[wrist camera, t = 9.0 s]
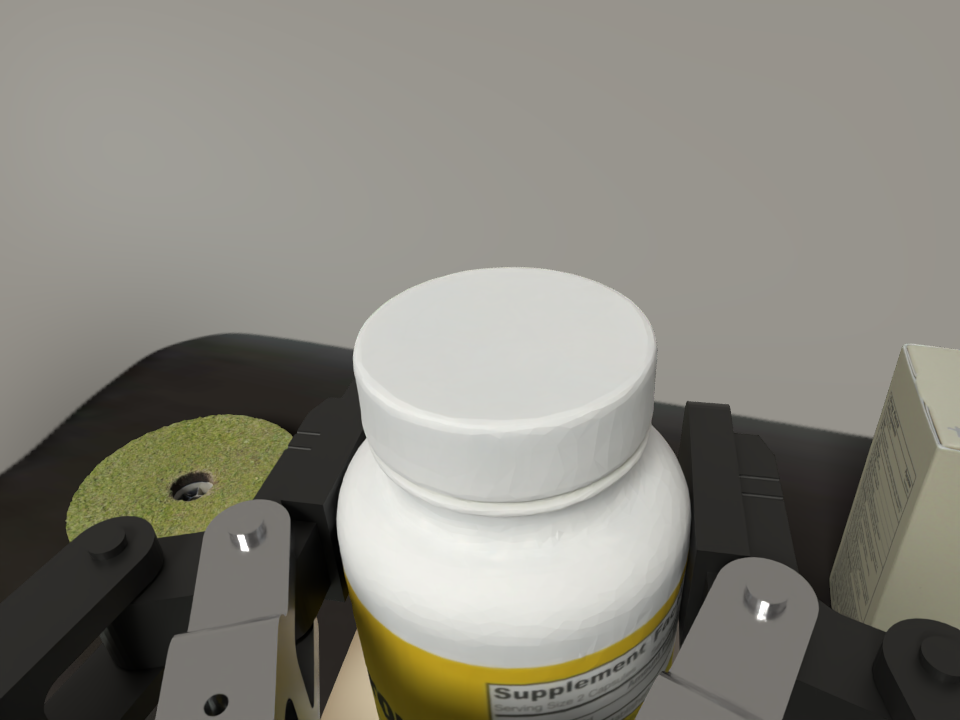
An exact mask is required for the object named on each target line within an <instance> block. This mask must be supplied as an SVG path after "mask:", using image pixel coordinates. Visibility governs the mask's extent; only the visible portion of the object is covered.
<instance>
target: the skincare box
mask: <svg viewBox="0 0 960 720" xmlns="http://www.w3.org/2000/svg"><path fill="white" fill-rule="evenodd" d="M830 595H831V605H832V609H833V610H835V611H836V612H838V613H840V614H842V615H844V616H847V617H849V618H851V619H854V620H856V621H859V622H862V623H864V624H867V625H869V626H872V627H875V628H877V629H880V630H882V631H885V632H887V631H888V629H889V628H890V627H891V626H892V625H894V624H895V623H897V622H899V621H902V620H906V619H913V618H923V619H930V620H936V621H939V622H943V623H946V624H948V625H951V626H953V627H956V628H958V629H959V630H960V350H959V349H952V348H942V347H934V346H926V345H918V344H911V343H907V344H905V345H903V346H902V349H901V352H900V355H899V358H898V361H897V365H896V368H895V371H894V375H893V377H892V381H891V384H890V387H889V390H888V394H887V397H886V400H885V403H884V406H883V410H882V413H881V416H880V419H879V422H878V425H877V428H876V432H875V435H874V438H873V441H872V444H871V447H870V451H869V454H868V457H867V460H866V463H865V466H864V470H863V473H862V476H861V479H860V483H859V486H858V489H857V492H856V495H855V499H854V502H853V505H852V508H851V511H850V514H849V518H848V521H847V524H846V527H845V530H844V534H843V537H842V540H841V543H840V546H839V549H838V553H837V556H836V559H835V562H834V565H833V568H832V571H831V575H830Z"/></svg>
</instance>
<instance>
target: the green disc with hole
mask: <svg viewBox="0 0 960 720" xmlns="http://www.w3.org/2000/svg"><path fill="white" fill-rule="evenodd" d="M291 439H292V435H291V434H290V433H288V432H287V431H286V430H285V429H283V428H280V426H278V425H276V424H273V423H270V422H268V421H266V420H263V419H257V418H255V419H254V418H253V417H248V416H243V415H232V414H227V415H218V416H214V415H211V416H209V417H204V418H201V417H199V418H197V419H193V420H185V421H182V422H179V423H174V424H172V425H170V426H168V427H166V426H164V427H163V428H161V429H158V430H156V431H153V432H151V433H147V434H145V435H144V436H141V437H140V438H138V439H136V440H132V441H131V442H130V443H128V444H127V445H125V446H124V447H122V448H121V449H118V450H117V451H116V452H115V453H113V454H112V455H110V456H109V457H107V458H105V460H104V461H102V462H101V463H100V464H98V465H97V466H96V467H95V469H94V470H93V471H92V472H91V474H90V476H87V477H86V478H85V480H84V483H82V484H81V485H80V487H79V489H78V490H77V492H75V494H74V496H73V498H72V499H73V501H72V502H71V503H70V506H69V510H68V512H67V520H65V521H66V522H67V524H66V532H67V535H68V538H69V541H70V542H71V541H72V540H74V539H75V538H76V537H77V536H78V535H79V534H81V533H82V532H83V531H85V530H86V529H88V528H89V527H91V526H93V525H95V524H97V523H99V522H102V521H104V520H107V519H111V518H114V517H120V516H136V517H140V518H143V519H145V520H147V521H148V522H149V523H150V524H151V525H152V526H153V528H154V531H155V533H156V536H157V538H161V537H168V536H176V535H183V534H190V533H197V532H202V531H205V530H206V528H207V526H208V525H209V524H210V522H211V521H212V520H213V519H214V518H215V517H216V516H217V515H218V514H220V513H221V512H222V511H224V510H225V509H227V508H229V507H231V506H233V505H235V504H238V503H241V502H244V501H249V500H253V498H254V497H255V495H256V494H257V492H258V491H259V489H260V488H261V486H262V484H263V483H264V481H265V480H266V478H267V477H268V475H269V474H270V472H271V470H272V469H273V467H274V466H275V464H276V463H277V461H278V460H279V458H280V457H281V455H282V453H283V452H284V450H285V449H288V444H289V443H290V441H291Z"/></svg>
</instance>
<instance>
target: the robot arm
mask: <svg viewBox="0 0 960 720" xmlns="http://www.w3.org/2000/svg"><path fill="white" fill-rule="evenodd" d="M366 438H367V437H366V435H365V433H364V429H363V425H362V419H361V408H360V401H359V395H358V389H357V384H356V378H355V377H354V378H353V380H352V382H351V383H350V385H349V387H348V388H347V390H346V392H345V393H344V395H343V397H342V398H331V397H329V398H328V399H326V400H325V401H324V402H322V403H321V404H320V405H318V406H317V407H316V408H314V409H313V410H312V411H310V412H309V413H308V415H307V416H306V418H305V419H304V421H303V422H302V424H301V426H300V427H299V429H298V430H297V434H295V435H294V436H293V438H292V439H291V441H290V443H289V444H288V449H285V450H284V452H283V453H282V455H281V457H280V458H279V460H278V461H277V463H276V464H275V466H274V467H273V469H272V470H271V472H270V474H269V475H268V477H267V478H266V480H265V481H264V483H263V484H262V486H261V488H260V489H259V491H258V492H257V494H256V495H255V497H254V498H253V500H249V501H244V502H241V503H238V504H235V505H233V506H231V507H229V508H227V509H225V510H224V511H222V512H221V513H220V514H218V515H217V516H216V517H215V518H214V519H213V520H212V521H211V522H210V524H209V525H208V526H207V528H206V530H205V531H202V532H197V533H190V534H183V535H176V536H168V537H161V538H157V536H156V533H155V531H154V528H153V526H152V525H151V524H150V523H149V522H148V521H147V520H145V519H143V518H140V517H136V516H120V517H114V518H111V519H107V520H104V521H102V522H99V523H97V524H95V525H93V526H91V527H89V528H88V529H86V530H85V531H83V532H82V533H81V534H79V535H78V536H77V537H76V538H75V539H74V540H72V541H71V542H70V543H69V544H68V545H67V546H66V547H64V548H63V549H62V550H61V551H60V552H59V553H58V554H56V555H55V556H54V557H53V558H52V559H51V560H50V561H48V562H47V563H46V564H45V565H44V566H43V567H42V568H40V569H39V570H38V571H37V572H36V573H35V574H34V575H32V576H31V577H30V578H29V579H28V580H27V581H26V582H24V583H23V584H22V585H21V586H20V587H19V588H18V589H16V590H15V591H14V592H13V593H12V594H11V595H10V596H8V597H7V598H6V599H5V600H4V601H3V602H2V603H0V720H145V718H146V717H147V716H148V715H149V714H150V712H151V711H152V710H153V709H154V707H155V706H156V705H157V704H158V708H157V713H156V719H155V720H320V702H319V629H318V622H317V618H316V616H317V613H318V611H319V609H320V607H321V605H322V603H323V600H324V599H326V600H333V601H340V602H345V601H346V598H347V596H348V594H349V590H348V587H347V582H346V578H345V574H344V570H343V564H342V558H341V554H340V546H339V541H338V534H337V520H336V518H337V507H338V498H339V492H340V488H341V485H342V482H343V478H344V476H345V473H346V471H347V468H348V466H349V464H350V462H351V460H352V458H353V456H354V455H355V453H356V452H357V450H358V448H359V447H360V446H361V444H362V443H363V442H364V441H365V439H366ZM678 462H679V464H680V466H681V469H682V471H683V474H684V477H685V480H686V483H687V486H688V490H689V496H690V502H691V529H690V545H689V553H688V560H687V566H686V570H685V578H684V584H683V591H682V598H681V604H680V611H679V650H680V651H679V653H678V655H677V657H676V659H675V661H674V663H673V665H672V666H671V668H670V670H669V671H668V672H665V671H662V672H661V673H660V674H659V675H658V677H657V678H656V680H655V681H654V683H653V685H652V687H651V689H650V690H649V692H648V694H647V696H646V698H645V700H644V702H643V704H642V706H641V708H640V710H639V712H638V714H637V716H636V718H635V720H960V630H959V629H958V628H956V627H953V626H951V625H948V624H946V623H943V622H939V621H936V620H930V619H923V618H913V619H906V620H902V621H899V622H897V623H895V624H894V625H892V626H891V627H890V628H889V629H888V631H887V632H885V631H882V630H880V629H877V628H875V627H872V626H869V625H867V624H864V623H862V622H859V621H856V620H854V619H851V618H849V617H847V616H844V615H842V614H840V613H838V612H836V611H835V610H833V609H831V608H830V607H828V606H827V605H825V604H824V603H823V602H821V601H820V600H819V599H818V598H817V597H816V594H815V592H814V590H813V589H812V587H811V586H810V585H809V583H808V582H807V581H806V580H805V579H804V578H803V577H802V576H801V575H800V574H799V570H798V567H797V562H796V557H795V552H794V547H793V542H792V537H791V532H790V527H789V523H788V518H787V513H786V508H785V503H784V501H783V493H782V488H781V483H780V482H779V473H778V468H777V463H776V458H775V455H774V454H773V453H772V451H771V450H770V449H769V448H768V446H767V445H766V444H765V443H764V441H763V440H762V439H761V438H760V436H759V435H749V434H737V433H733V425H732V418H731V411H730V406H729V405H728V404H715V403H702V402H689V401H687V402H686V406H685V412H684V420H683V427H682V434H681V442H680V449H679V456H678ZM98 636H100V638H101V639H102V641H103V643H102V644H101V645H100V646H99V647H98V648H97V649H96V650H95V651H94V652H93V654H92V655H91V656H90V657H89V658H88V659H87V660H86V661H85V662H84V663H83V664H82V665H81V666H80V667H79V668H78V669H77V670H76V671H75V672H74V673H73V674H72V676H71V677H70V678H69V679H68V680H67V681H66V682H65V683H64V684H63V685H62V686H61V687H60V688H59V689H58V690H57V691H56V692H55V693H54V694H53V695H52V697H51V698H50V699H49V700H48V701H47V702H46V703H45V704H44V702H45V698H46V695H47V693H48V691H49V689H50V688H51V686H52V685H53V683H54V682H55V681H56V680H57V678H58V677H59V676H60V675H61V674H62V673H63V672H64V671H65V670H66V669H67V668H68V667H69V666H70V665H71V664H72V663H73V662H74V661H75V660H76V659H77V658H78V657H79V656H80V655H81V654H82V653H83V652H84V650H85V649H86V648H87V647H88V646H89V645H90V644H91V643H92V642H93V641H94V640H95V639H96V638H97V637H98Z"/></svg>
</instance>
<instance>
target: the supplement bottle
mask: <svg viewBox="0 0 960 720" xmlns="http://www.w3.org/2000/svg"><path fill="white" fill-rule="evenodd" d="M657 351H658V350H657V342H656V337H655V333H654V330H653V328H652V326H651V324H650V322H649V320H648V319H647V317H646V316H645V314H644V313H643V312H642V311H641V310H640V309H639V308H638V307H637V305H636V304H635V303H633V302H632V301H631V300H630V299H628V298H627V297H625V296H624V295H622V294H621V293H619V292H618V291H616V290H614V289H612V288H610V287H608V286H606V285H603V284H601V283H599V282H597V281H593V280H591V279H588V278H585V277H582V276H579V275H575V274H570V273H565V272H561V271H555V270H549V269H542V268H528V267H498V268H484V269H476V270H468V271H462V272H458V273H454V274H449V275H446V276H443V277H439V278H435V279H433V280H429V281H427V282H424V283H422V284H419V285H416V286H414V287H412V288H409V289H408V290H406V291H404V292H402V293H400V294H398V295H397V296H395V297H393V298H391V299H390V300H389V301H387V302H386V303H384V304H383V305H382V306H381V307H379V308H378V309H377V310H376V311H375V312H374V313H373V314H372V315H371V316H370V317H369V318H368V320H367V321H366V322H365V324H364V325H363V327H362V328H361V330H360V332H359V334H358V337H357V339H356V342H355V347H354V354H353V364H354V374H355V378H356V384H357V389H358V395H359V401H360V408H361V419H362V425H363V429H364V433H365V435H366V437H367V438H366V439H365V441H364V442H363V443H362V444H361V446H360V447H359V448H358V450H357V452H356V453H355V455H354V456H353V458H352V460H351V462H350V464H349V466H348V468H347V471H346V473H345V476H344V478H343V482H342V485H341V488H340V492H339V498H338V507H337V518H336V520H337V534H338V541H339V546H340V554H341V558H342V564H343V570H344V574H345V578H346V582H347V587H348V590H349V595H350V599H351V602H352V607H353V614H354V617H355V621H356V625H357V630H358V634H359V639H360V643H361V647H362V651H363V655H364V660H365V664H366V667H367V671H368V676H369V680H370V684H371V688H372V692H373V696H374V700H375V704H376V709H377V713H378V717H379V720H635V718H636V716H637V714H638V712H639V710H640V708H641V706H642V704H643V702H644V700H645V698H646V696H647V694H648V692H649V690H650V689H651V687H652V685H653V683H654V681H655V680H656V678H657V677H658V675H659V674H660V673H661V672H662V671H665V672H668V671H669V670H670V668H671V666H672V659H673V652H674V645H675V639H676V634H677V625H678V618H679V611H680V604H681V598H682V591H683V584H684V578H685V570H686V566H687V560H688V553H689V545H690V529H691V502H690V496H689V490H688V486H687V483H686V480H685V477H684V474H683V471H682V469H681V466H680V464H679V462H678V460H677V458H676V456H675V454H674V452H673V451H672V449H671V448H670V446H669V445H668V443H667V442H666V440H665V439H664V438H663V437H662V436H661V434H660V433H659V432H658V431H657V430H656V429H655V428H654V427H653V426H652V425H651V419H652V415H653V405H654V390H655V377H656V364H657Z"/></svg>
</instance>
